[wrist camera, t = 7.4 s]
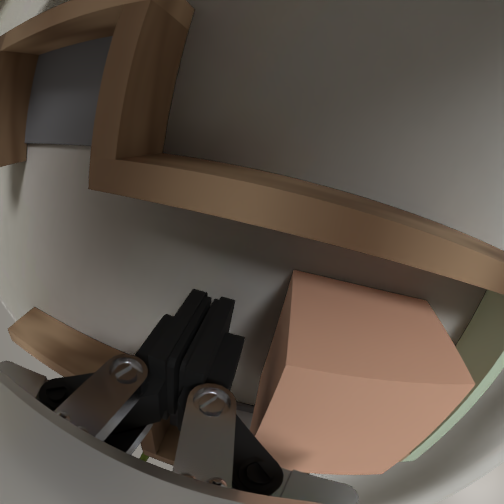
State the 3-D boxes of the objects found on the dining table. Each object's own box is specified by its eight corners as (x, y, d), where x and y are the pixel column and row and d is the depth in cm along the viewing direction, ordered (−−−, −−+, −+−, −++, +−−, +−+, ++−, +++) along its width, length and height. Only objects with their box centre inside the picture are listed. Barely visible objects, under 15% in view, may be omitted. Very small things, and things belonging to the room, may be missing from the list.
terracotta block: (426, 300, 10) (475, 384, 5) (370, 393, 12) (381, 473, 8) (293, 269, 10) (285, 364, 6) (260, 375, 13) (242, 462, 8)
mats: (431, 83, 7) (433, 83, 7) (282, 450, 16) (282, 453, 15) (41, 55, 8) (39, 54, 8) (61, 369, 17) (60, 370, 17)
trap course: (532, 129, 6) (575, 134, 3) (352, 462, 16) (353, 494, 13) (36, 42, 8) (-3, 38, 5) (56, 371, 17) (37, 393, 15)
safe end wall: (514, 256, 8) (550, 284, 6) (406, 423, 13) (413, 460, 10) (503, 251, 8) (541, 280, 6) (394, 423, 13) (400, 461, 10)
